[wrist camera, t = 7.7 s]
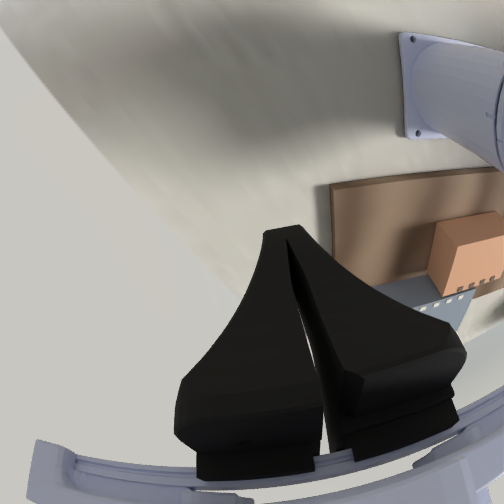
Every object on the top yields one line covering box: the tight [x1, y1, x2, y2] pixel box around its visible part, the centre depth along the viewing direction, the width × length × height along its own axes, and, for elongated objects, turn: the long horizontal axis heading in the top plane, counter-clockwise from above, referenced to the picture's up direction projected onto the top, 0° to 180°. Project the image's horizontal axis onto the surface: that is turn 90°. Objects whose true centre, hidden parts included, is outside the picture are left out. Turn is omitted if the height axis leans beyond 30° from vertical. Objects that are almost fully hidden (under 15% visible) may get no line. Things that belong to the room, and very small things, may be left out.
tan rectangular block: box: [426, 211, 504, 297], centre depth 21 cm, size 8×6×4 cm
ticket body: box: [372, 274, 476, 331], centre depth 26 cm, size 14×7×4 cm, turn 101°
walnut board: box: [330, 167, 504, 299], centre depth 24 cm, size 28×17×1 cm, turn 101°
